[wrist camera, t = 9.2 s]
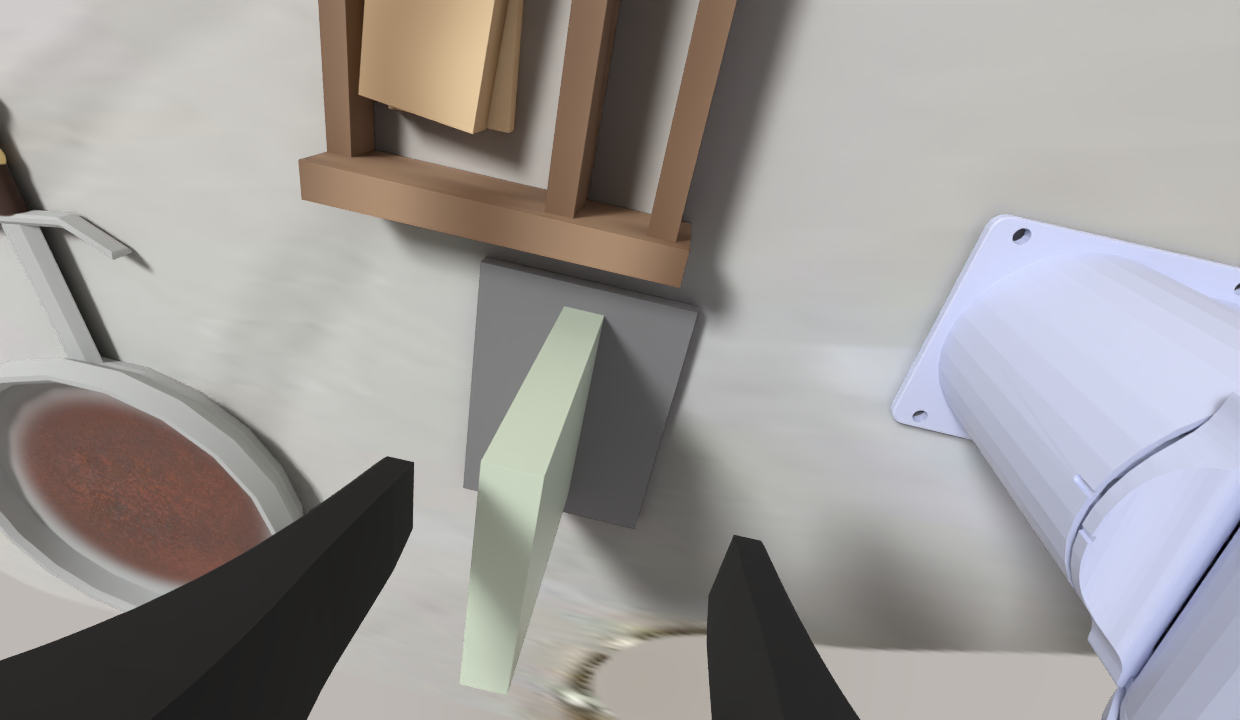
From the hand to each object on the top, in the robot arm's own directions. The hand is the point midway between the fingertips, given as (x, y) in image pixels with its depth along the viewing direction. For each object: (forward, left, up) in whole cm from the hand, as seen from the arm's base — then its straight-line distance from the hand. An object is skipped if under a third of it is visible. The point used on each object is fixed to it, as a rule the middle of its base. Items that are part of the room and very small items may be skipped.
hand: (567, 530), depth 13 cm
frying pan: (+23, +10, -11) cm, 27 cm away
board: (+2, +4, -10) cm, 11 cm away
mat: (+2, +4, -10) cm, 11 cm away
